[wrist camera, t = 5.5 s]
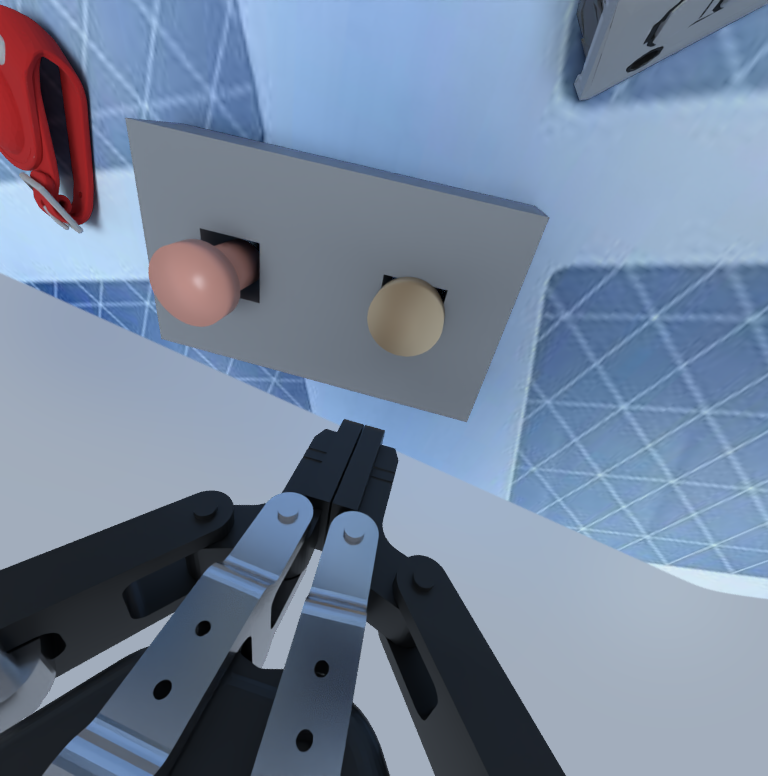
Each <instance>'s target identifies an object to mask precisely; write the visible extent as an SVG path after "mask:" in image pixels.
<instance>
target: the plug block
mask: <svg viewBox="0 0 768 776" xmlns="http://www.w3.org/2000/svg"><path fill="white" fill-rule="evenodd" d="M125 119H126V125H127V131H128V137H129V143H130V150H131V156H132V162H133V168H134V174H135V180H136V186H137V192H138V198H139V205H140V211H141V217H142V223H143V229H144V235H145V241H146V247H147V254H148V260H149V263H150V260H151V258H152V256H153V254H154V253H155V252H156V251H157V250H158V249H159V248H161V247H163V246H166V245H169V244H172V243H175V242H179V241H182V240H185V239H198V240H202V241H205V242H207V243H210V244H211V245H213V246H216V245H218V244H221V243H224V242H227V241H229V240H232V239H245V240H249V241H253V242H257V243H260V278H259V279H258V280H257V281H256V282H254V283H252V284H251V285H249V286H247V287H246V288H244V289H242V290H241V291H240V299H239V302H238V304H237V306H236V308H235V309H234V310H233V311H232V312H231V313H230V314H228V315H227V316H225V317H223V318H222V319H220V320H219V321H217V322H216V323H214V324H212V325H210V326H205V327H198V326H192V325H189V324H186V323H184V322H182V321H180V320H178V319H177V318H175V317H174V316H173V315H171V314H170V313H169V312H168V311H167V310H166V309H165V308H164V307H163V306H162V304H161V303H160V302H159V300H158V299H157V297H156V295H155V294H154V296H155V303H156V309H157V315H158V321H159V327H160V333H161V339H164V340H168V341H171V342H175V343H179V344H182V345H186V346H190V347H193V348H197V349H201V350H204V351H208V352H212V353H215V354H219V355H223V356H226V357H230V358H234V359H237V360H241V361H245V362H248V363H252V364H256V365H259V366H263V367H267V368H270V369H274V370H278V371H281V372H285V373H289V374H292V375H296V376H300V377H303V378H307V379H311V380H314V381H318V382H322V383H325V384H329V385H333V386H336V387H340V388H344V389H347V390H351V391H355V392H358V393H362V394H366V395H369V396H373V397H377V398H380V399H384V400H388V401H391V402H395V403H399V404H402V405H406V406H410V407H413V408H417V409H420V410H424V411H428V412H431V413H435V414H439V415H442V416H446V417H450V418H453V419H457V420H461V421H464V422H467V420H468V418H469V415H470V413H471V410H472V408H473V405H474V403H475V400H476V398H477V395H478V393H479V391H480V388H481V386H482V383H483V381H484V378H485V376H486V373H487V371H488V368H489V366H490V363H491V361H492V358H493V356H494V353H495V351H496V348H497V346H498V343H499V341H500V338H501V336H502V334H503V331H504V329H505V326H506V324H507V321H508V319H509V316H510V314H511V311H512V309H513V306H514V304H515V301H516V299H517V296H518V294H519V291H520V289H521V286H522V284H523V281H524V279H525V276H526V274H527V272H528V269H529V267H530V264H531V262H532V259H533V257H534V254H535V252H536V249H537V247H538V244H539V242H540V239H541V237H542V234H543V232H544V229H545V227H546V224H547V222H548V219H549V217H548V216H547V215H546V214H544V213H543V212H542V211H541V210H540V209H538V208H537V207H536V206H532V205H528V204H524V203H520V202H515V201H511V200H507V199H502V198H498V197H494V196H490V195H485V194H481V193H477V192H473V191H468V190H464V189H460V188H455V187H451V186H447V185H443V184H438V183H434V182H430V181H426V180H421V179H417V178H413V177H408V176H404V175H400V174H396V173H391V172H387V171H383V170H379V169H374V168H370V167H366V166H361V165H357V164H353V163H349V162H344V161H340V160H336V159H332V158H327V157H323V156H319V155H314V154H310V153H306V152H302V151H297V150H293V149H289V148H285V147H280V146H276V145H272V144H267V143H263V142H259V141H255V140H250V139H246V138H242V137H237V136H233V135H229V134H225V133H220V132H216V131H212V130H208V129H203V128H199V127H195V126H190V125H186V124H181V123H171V122H162V121H152V120H142V119H132V118H125ZM393 277H396V278H400V277H414V278H418V279H421V280H424V281H426V282H427V283H429V284H430V285H431V286H433V287H436V288H440V289H444V290H445V293H444V297H443V300H442V301H443V304H444V308H445V318H444V324H443V329H442V333H441V336H440V338H439V339H438V341H437V342H436V344H435V345H434V346H433V347H432V348H431V349H429V350H428V351H426V352H424V353H422V354H420V355H416V356H409V357H405V356H398V355H394V354H392V353H390V352H388V351H386V350H384V349H383V348H382V347H380V346H379V345H378V344H377V343H376V341H375V340H374V339H373V337H372V335H371V333H370V331H369V328H368V322H367V315H368V310H369V307H370V304H371V302H372V301H373V299H374V297H375V296H376V294H377V293H378V292H379V290H380V289H381V288H382V287H383V286H384V285H385V284H386V283H388V282H390V281H391V280H392V279H393Z"/></svg>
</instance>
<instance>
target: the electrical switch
mask: <svg viewBox="0 0 768 776" xmlns="http://www.w3.org/2000/svg"><path fill="white" fill-rule="evenodd" d="M766 4H768V0H580V3H579V7H578V11H577V17H578V21H579V25H580V28H581V32H582V35H583V38H582V39H581V41H582V45H583V49H584V53H585V56H586V61H585V64H584V67H583V70H582V73H581V74H579V75H577V78H576V80H575V83H574V86H575V88H576V91H577V94H578V97H579V100H586V99H590V98H591V97H593V96H595V95H597V94H599V93H601V92H603V91H605V90H607V89H608V88H610V87H612V86H614V85H616V84H618V83H620V82H622V81H623V80H625V79H627V78H629V77H631V76H633V75H635V74H637V73H638V72H640V71H642V70H644V69H646V68H648V67H650V66H652V65H653V64H655V63H657V62H659V61H661V60H663V59H665V58H667V57H668V56H670V55H672V54H674V53H676V52H678V51H680V50H682V49H683V48H685V47H687V46H689V45H691V44H693V43H695V42H697V41H698V40H700V39H702V38H704V37H706V36H708V35H710V34H712V33H713V32H715V31H717V30H719V29H721V28H723V27H725V26H727V25H728V24H730V23H732V22H734V21H736V20H738V19H740V18H742V17H743V16H745V15H747V14H749V13H751V12H753V11H755V10H757V9H758V8H760V7H762V6H764V5H766Z"/></svg>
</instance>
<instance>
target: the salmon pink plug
mask: <svg viewBox="0 0 768 776" xmlns="http://www.w3.org/2000/svg"><path fill="white" fill-rule="evenodd" d="M259 278H260V254H259V252H258V250H257V249H256V248H255V247H254V246H253V245H252V244H251V243H249V242H248V241H246V240H243V239H232V240H229V241H227V242H224V243H221V244H218V245H216V246H213V245H211V244H210V243H207V242H205V241H202V240H198V239H185V240H182V241H179V242H175V243H172V244H169V245H166V246H163V247H161V248H159V249H158V250H157V251H156V252H155V253H154V254H153V256H152V258H151V260H150V263H149V279H150V283H151V286H152V289H153V291H154V294H155V295H156V297H157V299H158V300H159V302H160V303H161V304H162V306H163V307H164V308H165V309H166V310H167V311H168V312H169V313H170V314H171V315H173V316H174V317H175V318H177V319H178V320H180V321H182V322H184V323H186V324H189V325H192V326H198V327H205V326H210V325H212V324H214V323H216V322H217V321H219V320H220V319H222V318H223V317H225V316H227V315H228V314H230V313H231V312H232V311H233V310H234V309H235V308H236V306H237V304H238V302H239V299H240V291H241V290H242V289H244V288H246V287H247V286H249V285H251V284H252V283H254V282H256V281H257V280H258V279H259Z"/></svg>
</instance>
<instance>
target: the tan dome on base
mask: <svg viewBox="0 0 768 776" xmlns="http://www.w3.org/2000/svg"><path fill="white" fill-rule="evenodd" d="M444 318H445V308H444V304H443V301H442V298H441V296H440V295H439V293H438V292H437V288H436V287H433V286H431V285H430V284H429V283H427V282H426V281H424V280H421V279H418V278H414V277H400V278H396V279H394V280H391V281H390V282H388V283H386V284H385V285H384V286H383V287H382V288H381V289H380V290H379V292H378V293H377V294H376V296H375V297H374V299H373V301H372V302H371V304H370V307H369V310H368V315H367V322H368V328H369V331H370V333H371V335H372V337H373V339H374V340H375V341H376V343H377V344H378V345H379V346H380V347H382V348H383V349H384V350H386V351H388V352H390V353H392V354H394V355H398V356H405V357H409V356H416V355H420V354H422V353H424V352H426V351H428V350H429V349H431V348H432V347H433V346H434V345H435V344H436V342H437V341H438V339H439V338H440V336H441V333H442V329H443V324H444Z"/></svg>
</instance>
